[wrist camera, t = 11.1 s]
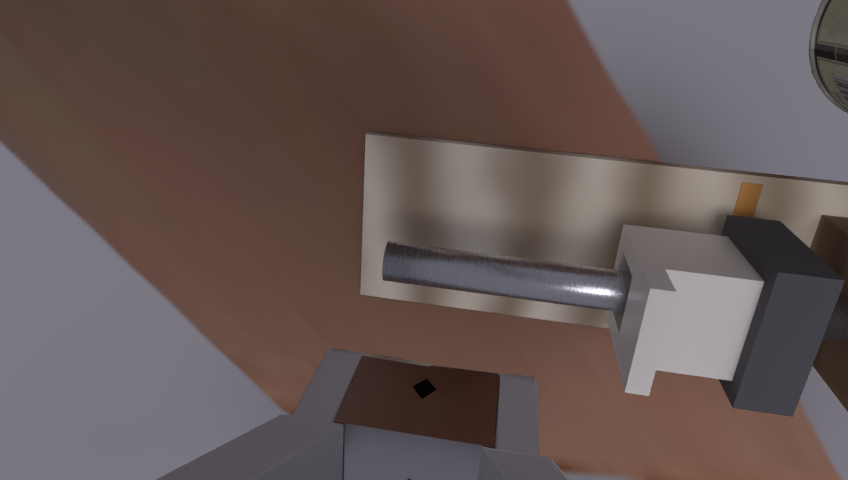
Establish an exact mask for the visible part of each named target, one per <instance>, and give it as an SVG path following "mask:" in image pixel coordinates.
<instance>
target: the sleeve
mask: <svg viewBox="0 0 848 480" xmlns="http://www.w3.org/2000/svg"><path fill="white" fill-rule="evenodd" d="M614 269H615V270H623V271H630V272H631V275H632V281H631V285H630V289H629V294H628V298H627V302H626V307H625V311H624V313H622V312H614V311H607V310H605V314H606V318H607V322H608V327H609V331H610V335H611V339H612V343H613V347H614V351H615V355H616V359H617V363H618V367H619V371H620V375H621V379H622V383H623V387H624V391H625V393H632V394H639V395H646V396H649V394H650V390H651V386H652V382H653V379H654V375H655V371H656V370H659V371H666V372H673V373H680V374H687V375H694V376H701V377H708V378H715V379H722V380H729V381H732V379H733V376H734V373H735V370H736V367H737V364H738V361H739V358H740V355H741V352H742V349H743V346H744V343H745V340H746V337H747V334H748V330H749V327H750V324H751V321H752V318H753V315H754V312H755V309H756V306H757V303H758V300H759V297H760V294H761V291H762V288H763V285H764V280H763V279H762V278H761V277H760V276H759V274H758V273H757V272H756V271H755V269H754V268H753V267H752V266H751V264H750V263H749V262H748V261H747V260H746V258H745V257H744V256H743V255H742V253H741V252H740V251H739V250H738V248H737V247H736V246H735V245H734V244H733V242H732V241H731V240H730V239H729V237H728V236H720V235H711V234H703V233H694V232H686V231H677V230H669V229H660V228H652V227H643V226H635V225H626V224H623V229H622V233H621V238H620V243H619V247H618V252H617V257H616V261H615V266H614Z"/></svg>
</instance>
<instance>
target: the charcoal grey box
mask: <svg viewBox="0 0 848 480" xmlns="http://www.w3.org/2000/svg"><path fill="white" fill-rule="evenodd" d="M721 236H728V237H729V239H730V240H731V241H732V242H733V244H734V245H735V246H736V247H737V248H738V250H739V251H740V252H741V253H742V255H743V256H744V257H745V258H746V260H747V261H748V262H749V263H750V264H751V266H752V267H753V268H754V269H755V271H756V272H757V273H758V274H759V276H760V277H761V278H762V279H763V280H764V285H763V288H762V291H761V294H760V297H759V300H758V303H757V306H756V309H755V312H754V315H753V318H752V321H751V324H750V327H749V330H748V334H747V337H746V340H745V343H744V346H743V349H742V352H741V355H740V358H739V361H738V364H737V367H736V370H735V373H734V376H733V379H732V381H729V380H722V379H719V381H720V383H721V385H722V387H723V389H724V391H725V393H726V395H727V397H728V399H729V401H730V403H731V405H732V407H733V408H738V409H744V410H751V411H758V412H765V413H772V414H778V415H785V416H792V417H793V414H794V412H795V409H796V406H797V404H798V401H799V399H800V396H801V393H802V391H803V388H804V386H805V383H806V380H807V378H808V375H809V373H810V370H811V367H812V365H813V362H814V360H815V357H816V355H817V352H818V349H819V347H820V344H821V342H822V339H823V336H824V334H825V331H826V329H827V326H828V323H829V321H830V318H831V316H832V313H833V311H834V308H835V305H836V303H837V300H838V298H839V295H840V292H841V290H842V287H843V285H844V282H845V280H844V279H843V278H842V277H841V276H840V275H838V274H837V273H836V272H835V271H834V270H833V269H832V268H831V267H830V266H829V265H828V264H826V263H825V262H824V261H823V260H822V259H821V258H820V257H819V256H818V255H817V254H816V253H814V252H813V251H812V250H811V249H810V248H809V247H808V246H807V245H806V244H805V243H804V242H802V241H801V240H800V239H799V238H798V237H797V236H796V235H795V234H794V233H793V232H792V231H790V230H789V229H788V228H787V227H786V226H785V225H784V224H783V223H782V222H781V221H777V220H768V219H760V218H751V217H742V216H733V215H727V217H726V220H725V224H724V227H723V231H722V234H721Z"/></svg>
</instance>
